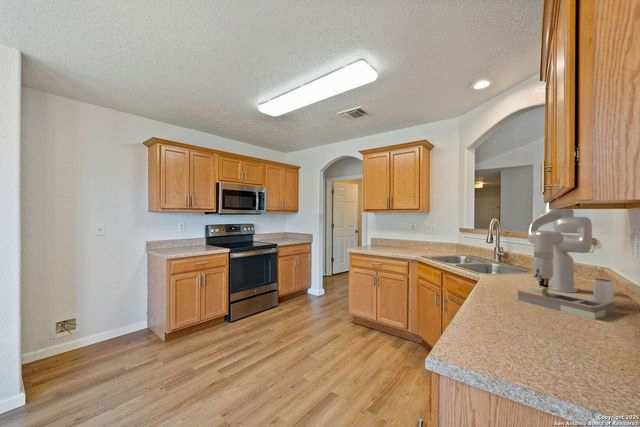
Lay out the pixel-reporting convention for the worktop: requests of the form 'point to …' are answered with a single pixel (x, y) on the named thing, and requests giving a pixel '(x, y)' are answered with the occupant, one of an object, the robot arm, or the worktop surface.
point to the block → (538, 290)
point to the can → (603, 291)
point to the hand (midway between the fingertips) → (543, 291)
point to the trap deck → (569, 304)
